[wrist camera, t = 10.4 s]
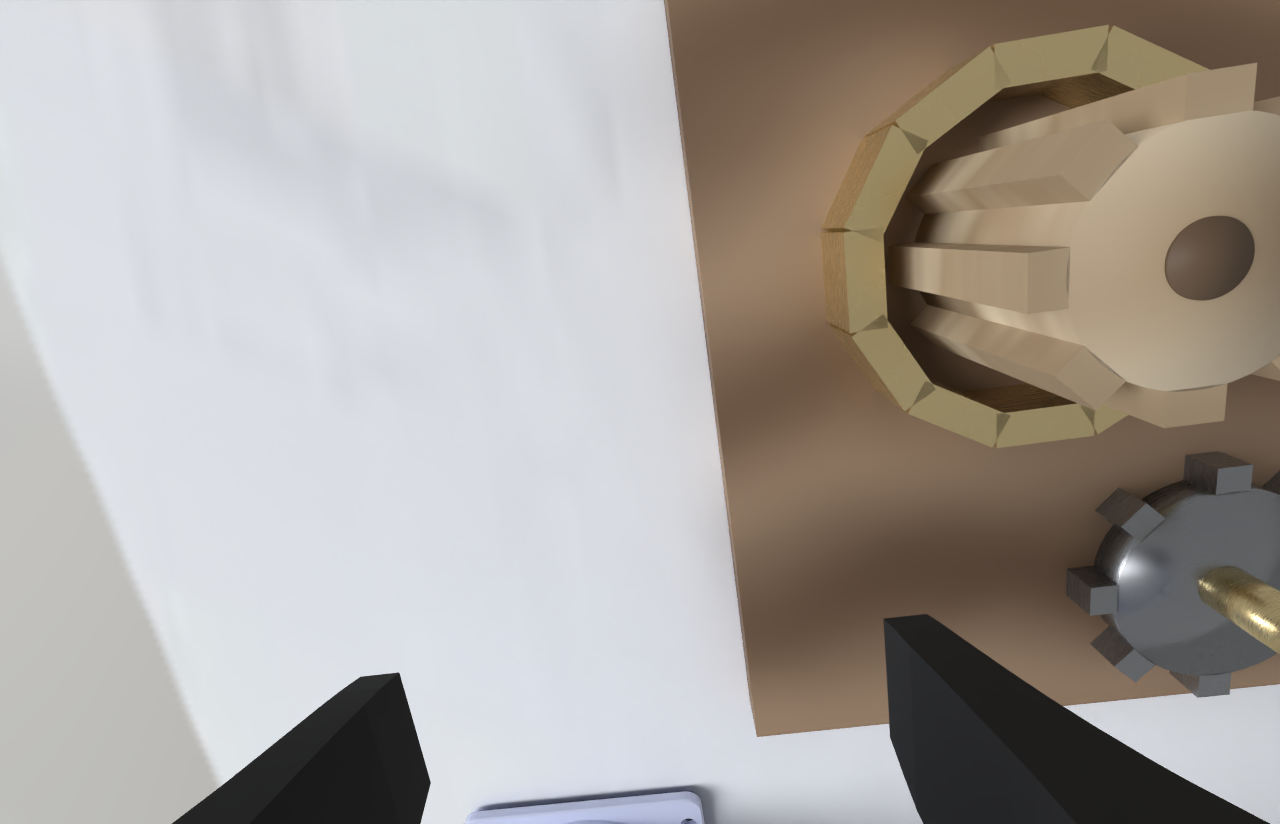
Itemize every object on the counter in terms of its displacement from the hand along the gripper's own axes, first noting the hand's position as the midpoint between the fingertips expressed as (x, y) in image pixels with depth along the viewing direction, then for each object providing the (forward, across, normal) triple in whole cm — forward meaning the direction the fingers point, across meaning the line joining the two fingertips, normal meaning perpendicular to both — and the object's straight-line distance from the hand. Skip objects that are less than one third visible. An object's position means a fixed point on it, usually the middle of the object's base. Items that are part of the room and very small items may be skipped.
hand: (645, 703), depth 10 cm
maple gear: (+8, -9, -5) cm, 13 cm away
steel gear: (+8, -14, +4) cm, 17 cm away
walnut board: (+9, -10, -2) cm, 14 cm away
